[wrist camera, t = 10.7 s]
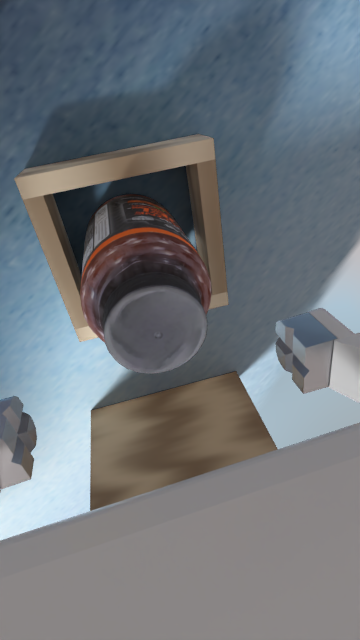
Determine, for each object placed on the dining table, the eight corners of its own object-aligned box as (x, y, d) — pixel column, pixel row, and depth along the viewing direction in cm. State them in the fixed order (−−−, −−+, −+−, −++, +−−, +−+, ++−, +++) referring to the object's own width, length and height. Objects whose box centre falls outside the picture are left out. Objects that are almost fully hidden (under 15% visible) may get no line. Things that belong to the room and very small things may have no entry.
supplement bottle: (192, 214, 22) (263, 294, 13) (154, 291, 25) (192, 406, 15) (103, 173, 20) (112, 234, 11) (71, 262, 22) (55, 377, 13)
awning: (94, 418, 30) (95, 674, 16) (58, 336, 25) (16, 607, 11) (236, 379, 31) (346, 589, 18) (229, 293, 26) (373, 494, 13)
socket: (81, 317, 24) (79, 341, 22) (24, 169, 19) (14, 178, 16) (215, 285, 25) (228, 304, 23) (198, 133, 20) (213, 138, 17)
